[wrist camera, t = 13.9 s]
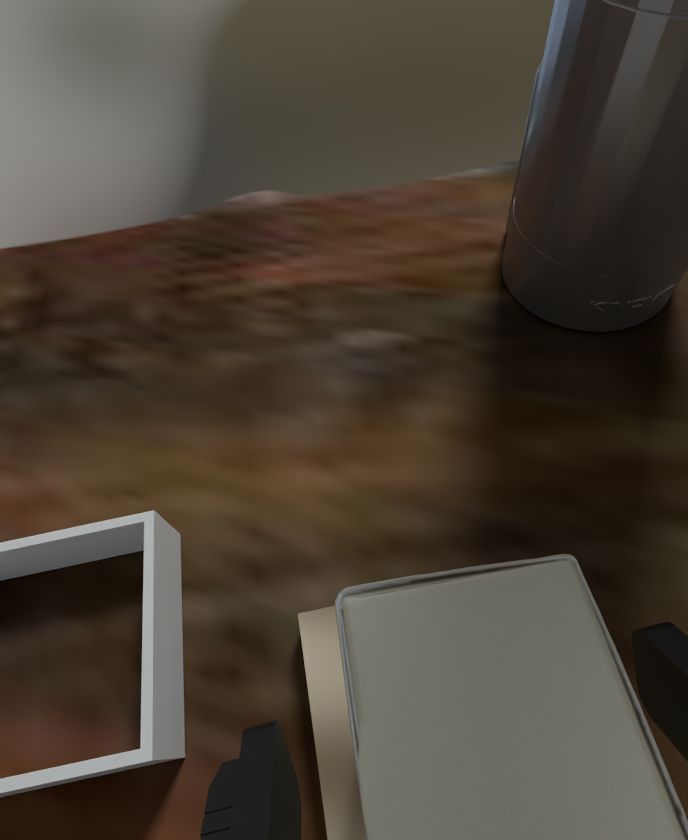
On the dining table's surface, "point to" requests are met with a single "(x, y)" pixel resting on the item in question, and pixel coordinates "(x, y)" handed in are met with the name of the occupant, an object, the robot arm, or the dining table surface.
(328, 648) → the birch board
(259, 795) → the robot arm
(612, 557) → the dining table surface
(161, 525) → the gray square frame
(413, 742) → the skincare box
